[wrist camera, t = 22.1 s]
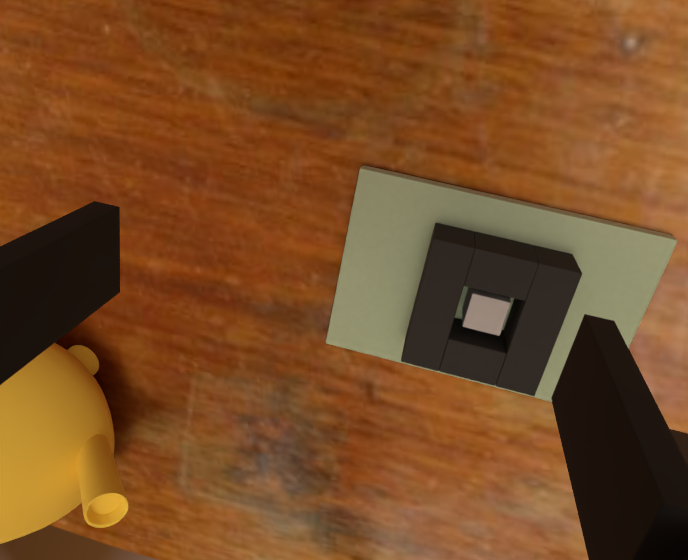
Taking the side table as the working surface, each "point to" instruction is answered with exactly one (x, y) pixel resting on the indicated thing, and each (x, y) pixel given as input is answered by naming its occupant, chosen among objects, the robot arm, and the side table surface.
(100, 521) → the teapot
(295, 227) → the side table surface
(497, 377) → the dark square frame
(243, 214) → the side table surface
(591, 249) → the base mat
